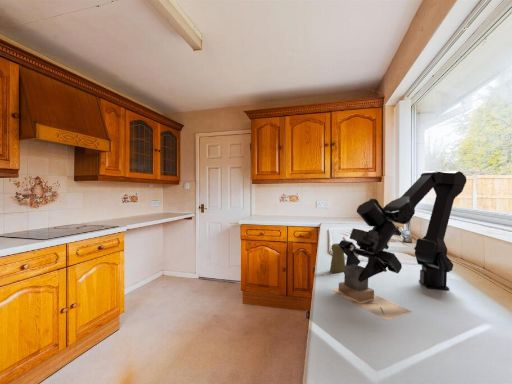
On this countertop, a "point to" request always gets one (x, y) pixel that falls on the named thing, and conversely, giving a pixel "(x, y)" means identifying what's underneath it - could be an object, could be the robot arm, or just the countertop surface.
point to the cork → (337, 260)
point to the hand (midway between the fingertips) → (351, 277)
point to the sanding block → (355, 285)
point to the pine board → (380, 307)
